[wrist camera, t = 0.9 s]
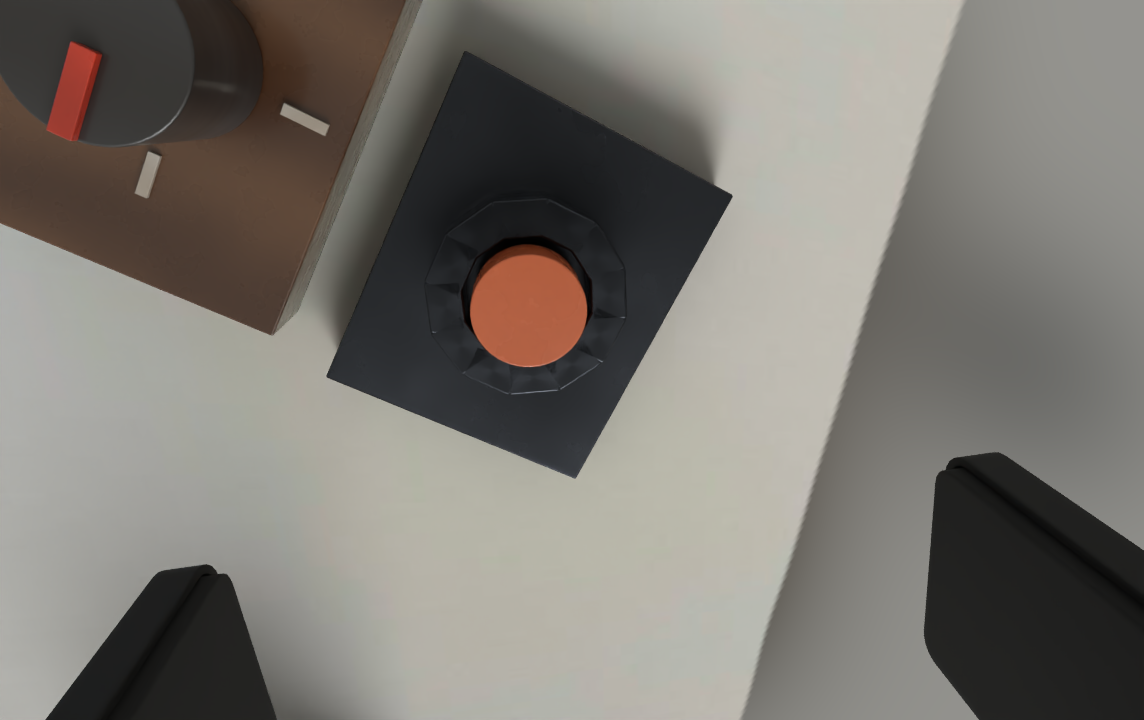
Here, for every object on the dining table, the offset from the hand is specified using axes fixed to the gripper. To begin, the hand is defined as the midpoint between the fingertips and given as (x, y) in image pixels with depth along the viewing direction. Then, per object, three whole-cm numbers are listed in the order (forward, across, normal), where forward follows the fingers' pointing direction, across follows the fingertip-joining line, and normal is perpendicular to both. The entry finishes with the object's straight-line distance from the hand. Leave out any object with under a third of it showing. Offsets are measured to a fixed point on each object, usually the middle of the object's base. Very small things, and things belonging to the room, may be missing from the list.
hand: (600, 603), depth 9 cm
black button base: (+19, 0, 0) cm, 19 cm away
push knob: (+15, 0, 0) cm, 15 cm away
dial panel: (+19, +9, -9) cm, 23 cm away
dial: (+16, +9, -9) cm, 20 cm away
